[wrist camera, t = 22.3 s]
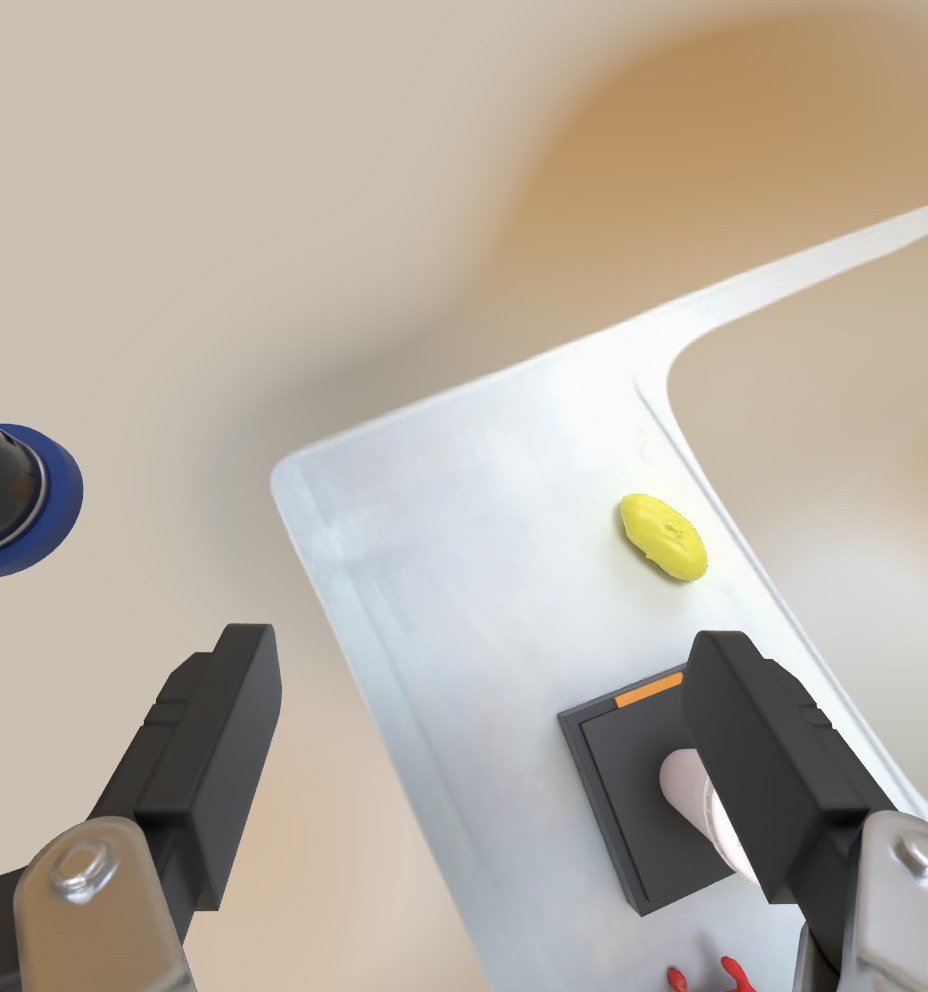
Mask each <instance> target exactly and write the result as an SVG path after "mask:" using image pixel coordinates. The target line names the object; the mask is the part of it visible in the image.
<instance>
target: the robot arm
mask: <svg viewBox="0 0 928 992" xmlns="http://www.w3.org/2000/svg"><path fill="white" fill-rule="evenodd" d="M0 430H2V429H0ZM2 431H3V430H2ZM2 431H0V550H1V549H4V548H6V547H8V546H10V545H11V544H13V543H15V542H16V541H18V540H19V539H20V538H22V537H23V536H24V535H25V534H26V533H28V532H29V531H30V530H31V529H32V527H33V526H34V525H35V524H36V523H37V521H38V520H39V519H40V517H41V515H42V514H43V512H44V510H45V508H46V506H47V503H48V500H49V496H50V491H51V477H50V472H49V469H48V466H47V464H46V462H45V461H44V459H43V457H42V456H41V455H40V454H39V453H38V452H37V451H36V450H35V449H33V448H32V447H30V446H29V445H27V444H25V443H24V442H22V441H20V440H18V439H16V438H14V437H12V436H11V435H10V436H9V434H8V433H7V434H8V435H7V434H5V433H6V432H5V431H4V432H5V433H3V432H2ZM281 696H282V685H281V677H280V669H279V662H278V654H277V646H276V639H275V632H274V628H273V626H272V625H271V624H235V623H233V624H231V623H230V624H228V625H227V626H226V627H225V629H224V631H223V632H222V634H221V637H220V639H219V640H218V642H217V644H216V646H215V648H214V650H213V652H195V653H194V654H192V655H191V656H190V657H189V658H188V659H187V660H186V661H185V662H183V663H182V664H181V665H180V666H179V667H178V668H177V669H175V670H174V671H173V672H172V673H171V674H170V676H169V677H168V679H167V681H166V683H165V684H164V686H163V688H162V690H161V692H160V693H159V695H158V697H157V699H156V704H153V706H152V707H151V709H150V711H149V712H148V714H147V716H146V718H145V720H144V725H143V726H140V728H139V730H138V732H137V733H136V735H135V737H134V739H133V740H132V742H131V744H130V746H129V747H128V749H127V751H126V753H125V754H124V756H123V758H122V759H121V761H120V763H119V765H118V766H117V768H116V770H115V772H114V774H113V775H112V777H111V779H110V781H109V782H108V784H107V786H106V787H105V789H104V791H103V793H102V795H101V796H100V798H99V800H98V802H97V803H96V805H95V807H94V808H93V810H92V812H91V813H90V815H89V816H88V818H87V819H86V820H85V821H84V822H82V823H80V824H78V825H75V826H74V827H72V828H70V829H68V830H66V831H64V832H63V833H61V834H60V835H58V836H57V837H56V838H54V839H53V840H52V841H51V842H50V843H48V844H47V845H46V846H45V847H44V848H42V849H41V850H40V852H39V853H38V854H37V855H36V856H35V857H34V858H33V859H32V861H31V862H30V863H29V865H27V866H25V867H23V868H20V869H17V870H15V871H12V872H9V873H6V874H3V875H0V992H197V990H196V987H195V984H194V980H193V977H192V974H191V971H190V968H189V965H188V962H187V959H186V956H185V953H184V950H183V947H182V945H183V943H184V940H185V937H186V934H187V931H188V928H189V925H190V922H191V919H192V916H193V913H194V911H218V910H219V907H220V904H221V900H222V897H223V894H224V891H225V887H226V884H227V881H228V878H229V875H230V872H231V868H232V865H233V862H234V859H235V856H236V852H237V849H238V846H239V843H240V840H241V836H242V833H243V830H244V827H245V824H246V820H247V817H248V814H249V811H250V807H251V804H252V801H253V798H254V795H255V792H256V788H257V785H258V782H259V779H260V776H261V772H262V769H263V766H264V763H265V760H266V756H267V753H268V750H269V747H270V743H271V740H272V737H273V734H274V731H275V727H276V724H277V721H278V717H279V713H280V706H281V698H282V697H281ZM678 700H679V710H680V714H681V718H682V721H683V723H684V725H685V728H686V730H687V732H688V734H689V736H690V738H691V740H692V742H693V744H694V747H695V749H696V751H697V753H698V755H699V757H700V759H701V761H702V763H703V766H704V768H705V770H706V772H707V774H708V776H709V778H710V780H711V782H712V785H713V787H714V789H715V791H716V793H717V795H718V797H719V799H720V801H721V804H722V806H723V808H724V810H725V812H726V814H727V816H728V818H729V820H730V823H731V825H732V827H733V829H734V831H735V833H736V835H737V837H738V839H739V842H740V844H741V846H742V848H743V850H744V852H745V854H746V856H747V858H748V861H749V863H750V865H751V867H752V869H753V871H754V873H755V875H756V877H757V879H758V882H759V884H760V886H761V888H762V890H763V892H764V894H765V896H766V898H767V901H768V903H769V904H798V905H799V907H800V909H801V911H802V913H803V915H804V917H805V919H806V921H805V923H804V925H803V927H802V929H801V933H800V939H799V947H798V954H797V961H796V968H795V976H794V983H793V990H792V992H928V822H926V821H924V820H922V819H920V818H917V817H915V816H913V815H910V814H907V813H903V812H899V811H898V810H897V808H896V807H895V806H894V805H893V803H892V802H891V801H890V799H889V798H888V797H887V795H886V794H885V793H884V791H883V790H882V789H881V788H880V786H879V785H878V784H877V782H876V781H875V780H874V778H873V777H872V776H871V774H870V773H869V772H868V770H867V769H866V768H865V766H864V765H863V764H862V763H861V761H860V760H859V759H858V757H857V756H856V755H855V753H854V752H853V751H852V749H851V748H850V747H849V745H848V744H847V743H846V741H845V740H844V739H843V738H842V736H841V735H840V734H839V732H838V731H837V730H836V729H833V728H832V723H831V722H830V720H829V719H828V718H827V717H826V715H825V714H824V713H823V711H822V710H821V709H818V708H817V703H816V702H815V701H814V699H813V698H812V697H811V695H810V694H809V693H808V692H807V690H806V689H805V688H804V686H803V685H802V684H801V682H800V681H799V680H798V679H797V678H796V677H794V676H793V675H792V674H791V673H789V672H788V671H787V670H785V669H784V668H783V667H782V666H780V665H779V664H778V663H777V662H775V661H774V660H773V659H764V658H763V657H762V655H761V654H760V652H759V651H758V650H757V648H756V647H755V646H754V644H753V643H752V641H751V640H750V639H749V637H748V636H747V635H746V634H745V633H743V632H741V631H700V632H698V633H697V635H696V637H695V639H694V642H693V645H692V649H691V652H690V655H689V658H688V662H687V665H686V668H685V671H684V675H683V678H682V681H681V685H680V688H679V697H678Z"/></svg>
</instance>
